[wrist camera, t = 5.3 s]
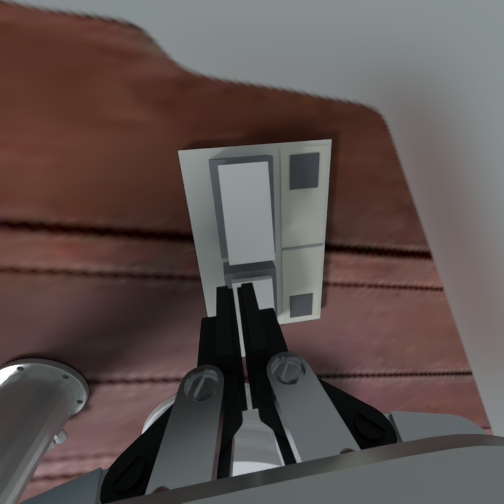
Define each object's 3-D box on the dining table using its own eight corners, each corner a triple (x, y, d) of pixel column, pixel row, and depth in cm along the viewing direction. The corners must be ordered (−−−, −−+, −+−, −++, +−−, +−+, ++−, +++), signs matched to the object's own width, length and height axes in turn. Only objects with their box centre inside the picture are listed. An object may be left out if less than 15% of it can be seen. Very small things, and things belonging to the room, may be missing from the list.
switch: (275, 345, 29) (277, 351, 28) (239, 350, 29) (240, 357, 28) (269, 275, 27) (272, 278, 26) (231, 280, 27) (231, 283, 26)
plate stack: (293, 454, 53) (311, 530, 42) (166, 483, 51) (152, 570, 41) (285, 367, 41) (308, 442, 31) (119, 400, 39) (84, 492, 29)
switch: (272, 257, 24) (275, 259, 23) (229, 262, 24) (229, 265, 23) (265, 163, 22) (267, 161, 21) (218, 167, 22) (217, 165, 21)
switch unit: (316, 311, 37) (328, 332, 32) (211, 326, 35) (210, 350, 31) (325, 139, 27) (345, 138, 22) (180, 150, 25) (172, 151, 21)
